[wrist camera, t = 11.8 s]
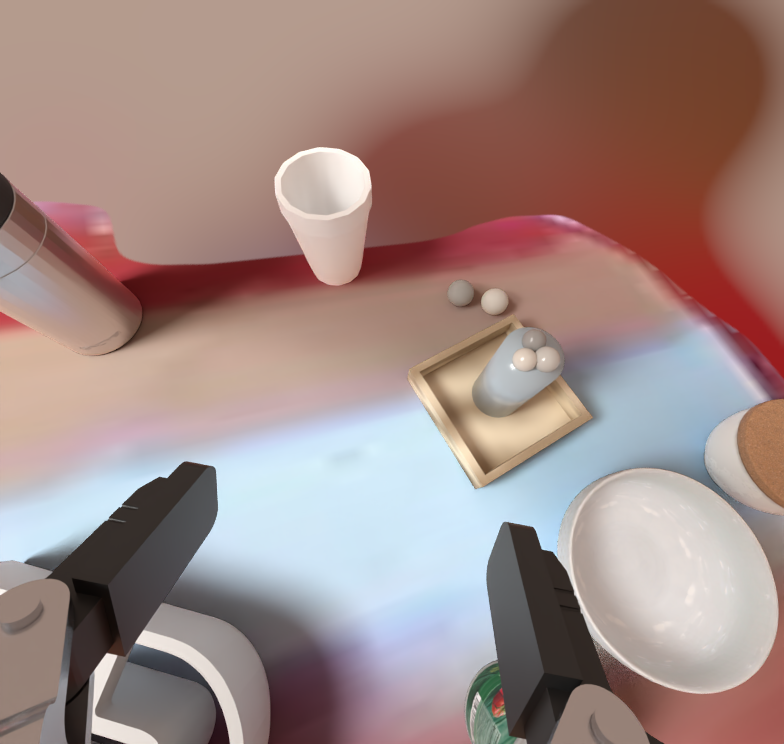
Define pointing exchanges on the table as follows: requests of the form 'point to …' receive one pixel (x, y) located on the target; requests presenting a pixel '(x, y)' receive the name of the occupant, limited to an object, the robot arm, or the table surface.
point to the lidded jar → (750, 456)
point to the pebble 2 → (494, 301)
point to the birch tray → (479, 431)
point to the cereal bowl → (670, 579)
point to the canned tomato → (487, 709)
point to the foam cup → (327, 210)
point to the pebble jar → (517, 371)
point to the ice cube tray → (175, 680)
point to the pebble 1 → (460, 293)
